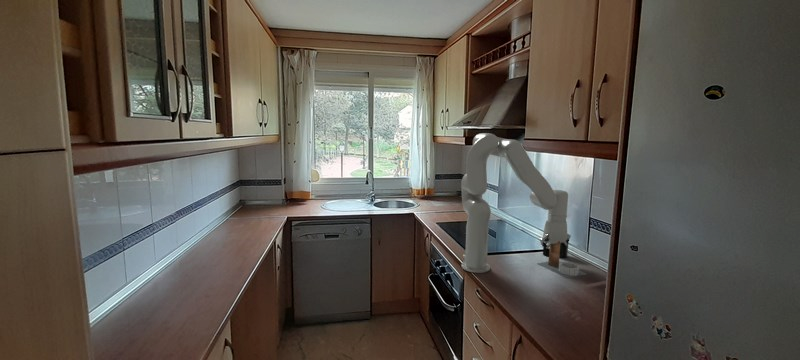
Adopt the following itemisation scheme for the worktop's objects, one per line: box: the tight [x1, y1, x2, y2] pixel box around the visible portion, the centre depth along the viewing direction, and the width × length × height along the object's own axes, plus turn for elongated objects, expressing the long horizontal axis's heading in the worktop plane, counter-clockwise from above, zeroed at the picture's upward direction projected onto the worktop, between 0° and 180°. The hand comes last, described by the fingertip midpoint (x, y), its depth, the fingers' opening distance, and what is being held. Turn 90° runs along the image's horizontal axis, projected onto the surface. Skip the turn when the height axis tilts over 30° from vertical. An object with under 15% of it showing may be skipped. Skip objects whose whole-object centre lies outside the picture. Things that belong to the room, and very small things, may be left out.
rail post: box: [547, 241, 560, 267], centre depth 158 cm, size 4×4×12 cm
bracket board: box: [536, 261, 588, 279], centre depth 154 cm, size 17×12×4 cm
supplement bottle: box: [559, 241, 570, 259], centre depth 170 cm, size 7×7×12 cm
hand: (554, 254), depth 158 cm, fingers open, 9 cm apart
